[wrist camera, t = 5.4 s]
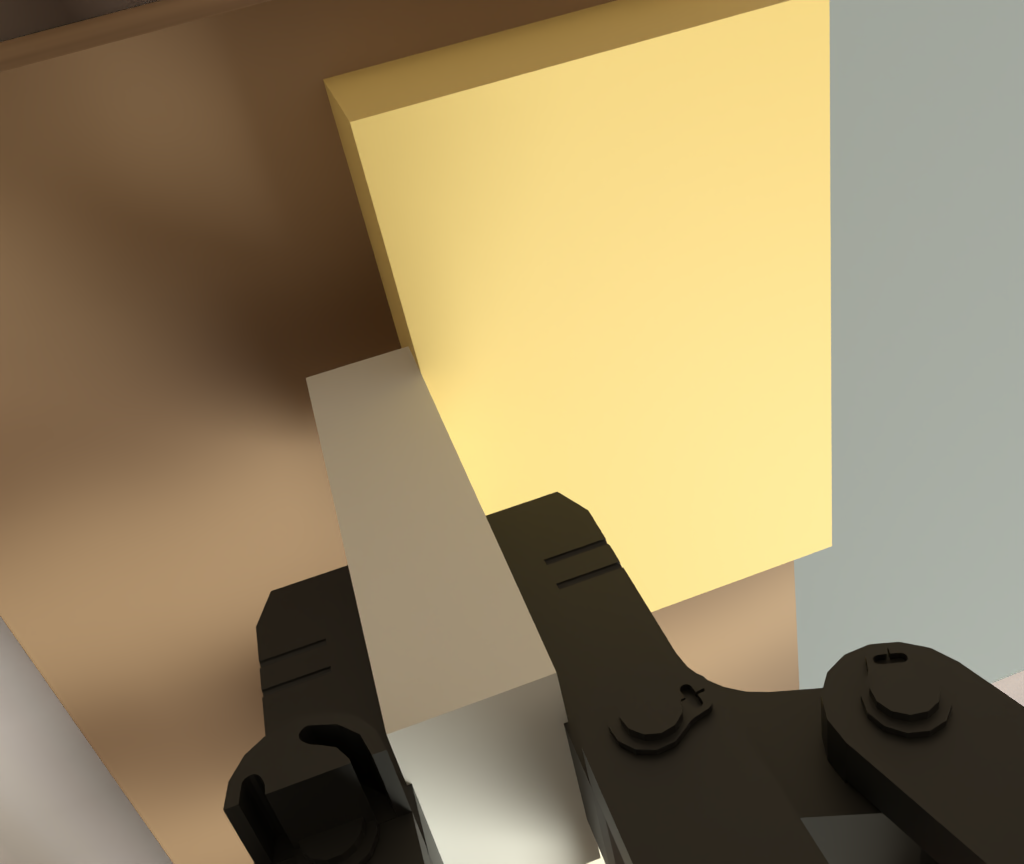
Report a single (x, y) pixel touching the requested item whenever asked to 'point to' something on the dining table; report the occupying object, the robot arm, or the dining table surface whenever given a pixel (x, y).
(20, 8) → the dining table surface
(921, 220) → the slate mat
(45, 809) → the dining table surface
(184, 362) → the walnut deck
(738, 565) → the mustard tile
